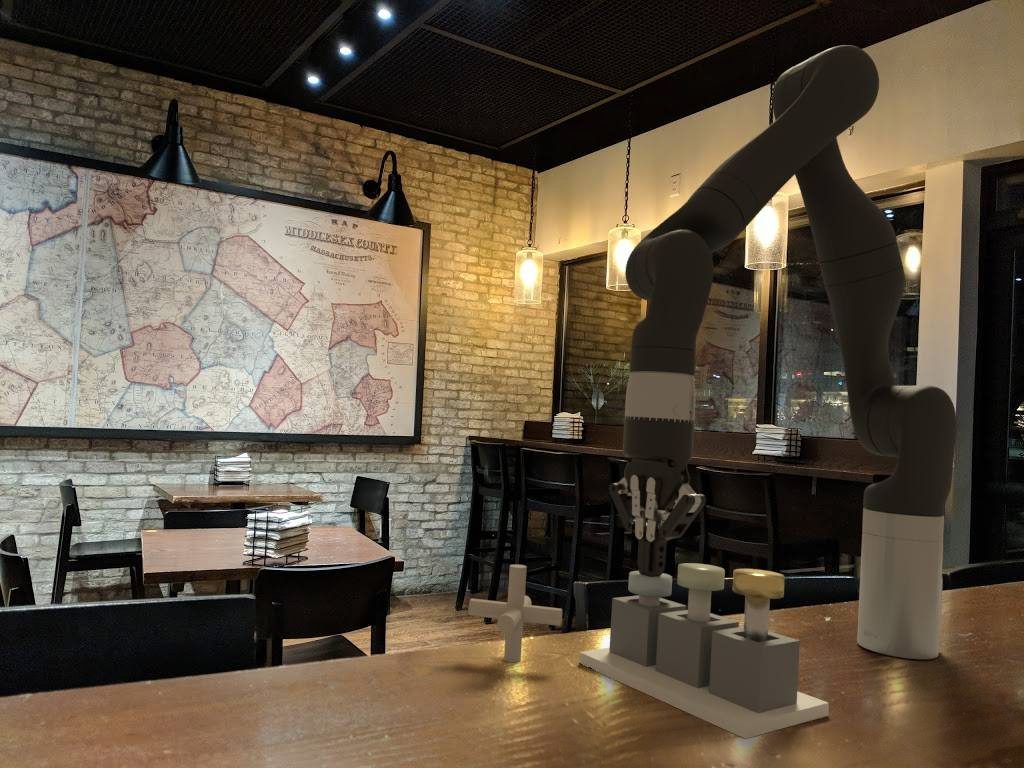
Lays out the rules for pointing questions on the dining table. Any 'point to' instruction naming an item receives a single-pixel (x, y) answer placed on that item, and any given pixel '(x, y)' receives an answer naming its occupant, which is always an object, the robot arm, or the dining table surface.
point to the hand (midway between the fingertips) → (650, 574)
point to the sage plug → (700, 588)
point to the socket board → (706, 667)
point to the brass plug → (757, 599)
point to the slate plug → (650, 587)
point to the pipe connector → (515, 613)
